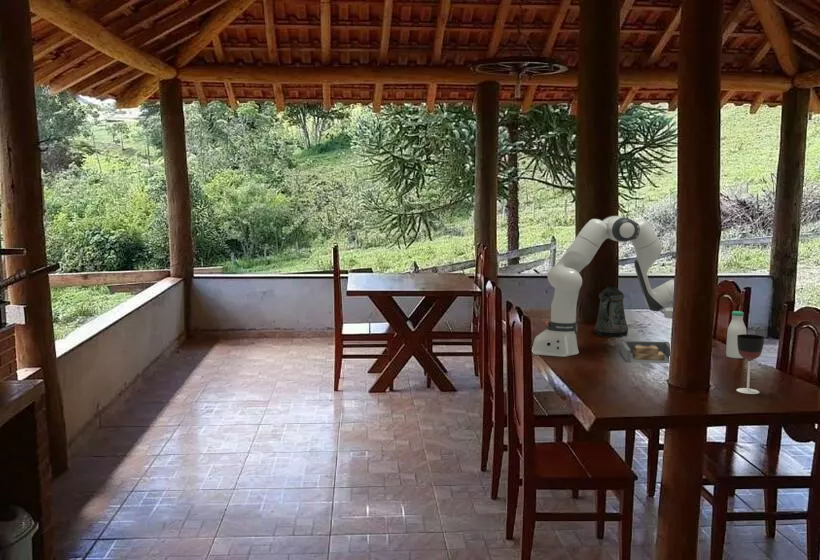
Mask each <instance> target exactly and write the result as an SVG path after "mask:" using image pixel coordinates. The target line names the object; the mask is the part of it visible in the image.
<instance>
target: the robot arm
mask: <svg viewBox="0 0 820 560" xmlns="http://www.w3.org/2000/svg"><path fill="white" fill-rule="evenodd" d="M606 240H611V241H615V242H622V243H623V242H625V243H626V242H630V243H631V244H632V247H633V248H634V250H635V254H636V257H635V260H634V261H633V264H634V270H635V273H636V277H637V279H638V283H639V286H640V289H641V292H642V295H643V301H644V303H645V306H646V307H647V309H648V310H649V311H652V312H659V311H661V313H662V314H664V315H663V316H664V318H665V319H673V318H672V312H673V293H674V279H675V278H671V279H670V280H668V281H666V282H664V283H662V284H660V285H659V286H657V287H655V288H652V286H651V284H650V280H649V277H648V272H649V270H650V268H651V267H652V266H653V265H654V264H655V263H656V261H658V260H659V258H660V257H661V254H662V250H663V247H662V243H661V241H660V239H659V237H658V234H656V232H655V230H654V229H653V227H652V226H651V225H650V224H649V223H648V221H647V220H645V219H636V220H632V219H631V218H629V217H624V216H621V215H608V216H606V217H605V218H603V219H599V218H592V219H590V220H589V221H588V222H586V224H585V225H584V226H583V227H582V229H581V230H580V231H579V233H578V234H577V236H576V237H575V238H574V240H573V241H572V243H571V245H570V246H569V248H568V249H567V250H566V252H565V253H564V254H563V255H562V257H560V259H558V261H557V262H556V263H555V264H554V266H553V267H551V268H550V269H549V271H548V272H547V281H548V283H549V284H550V286H551V287H553V288H554V294H553V298H552V301H551V304H550V320H549V319H548V320H546V321H545V322H544V323H545V326H546V327H545V329H544V330H543V331H542V332H540V333H539V334H537V335H536V336H535V338H534V340H533V343H532V350H533V354H532V355H535V356H536V355H537V356H548V357H549V356H550V357H562V358H563V357H564V358H565V357H569V356H575V355H578V354H579V353H580V351H579V347H578V341H577V340H578V339H577V333H578V322H577V304H578V299H579V294H580V289H581V287H582V286H583V277H582V276H581V274H580V273H581V271H583V269H585V268H586V267H587V266H588V265H589V264H590V263H591V262H592V261H593V259H594V257H595V255H596V254H597V253H598V250H599V249H600V247H601V246H602V244H603V243H604V242H605V241H606ZM668 306H669V307H668Z"/></svg>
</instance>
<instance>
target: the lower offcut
mask: <svg viewBox="0 0 820 560" xmlns="http://www.w3.org/2000/svg"><path fill="white" fill-rule="evenodd" d="M633 358H634V359H636V360H664V358H665V355H664V353H663V352H658V354H636V353H635V352H634V351H633Z"/></svg>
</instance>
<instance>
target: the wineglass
mask: <svg viewBox="0 0 820 560" xmlns="http://www.w3.org/2000/svg"><path fill="white" fill-rule="evenodd" d="M764 343H765V336H762V335H758V334H742V335H737V344H738V351H739V354H740V355H741V356H742V357H743V358H742V359H745V360H747V374H746V375H747V377H746V388H745V387H740V388H739V387H738V388H737V389H736V392H738V393H742V394H749V395H757V394H760V391H759V390H757V389H753V388H750V382H751V381H750V379H751V377H750V376H751V361H753V360H756V359H758V358H759V357H760V356H761V355H762V352H763V348H764V345H765V344H764Z"/></svg>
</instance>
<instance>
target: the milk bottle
mask: <svg viewBox="0 0 820 560" xmlns="http://www.w3.org/2000/svg"><path fill="white" fill-rule="evenodd" d="M744 314H745V313H744V312H743V311H740V310H739V311H738V310H733V311H732V312H731V321H730V323H729V325H728V328H727V332H726V333H727V334H726V348H725V349H726V350H725V356H726V357H727V358H731V359H744V358H743V357H742V356H741V355H740V354H739V351H738V344H737V335H742V334H747V332H748V331H747V327H746V325H745V322H744Z"/></svg>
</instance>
